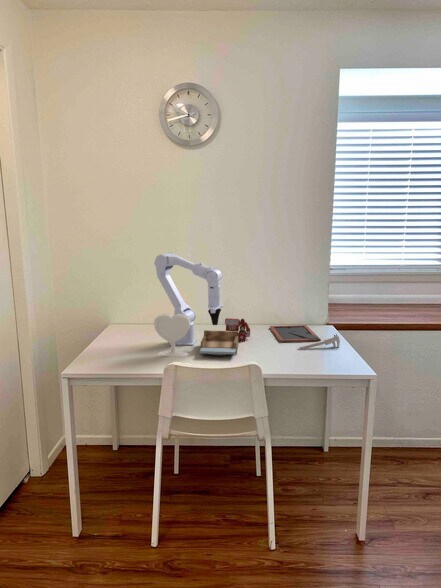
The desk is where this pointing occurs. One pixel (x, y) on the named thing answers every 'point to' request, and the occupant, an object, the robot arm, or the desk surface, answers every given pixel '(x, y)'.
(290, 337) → the picture frame
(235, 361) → the desk surface
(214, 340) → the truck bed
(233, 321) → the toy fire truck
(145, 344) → the desk surface
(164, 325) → the heart sculpture
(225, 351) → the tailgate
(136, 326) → the desk surface
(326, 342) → the caliper
